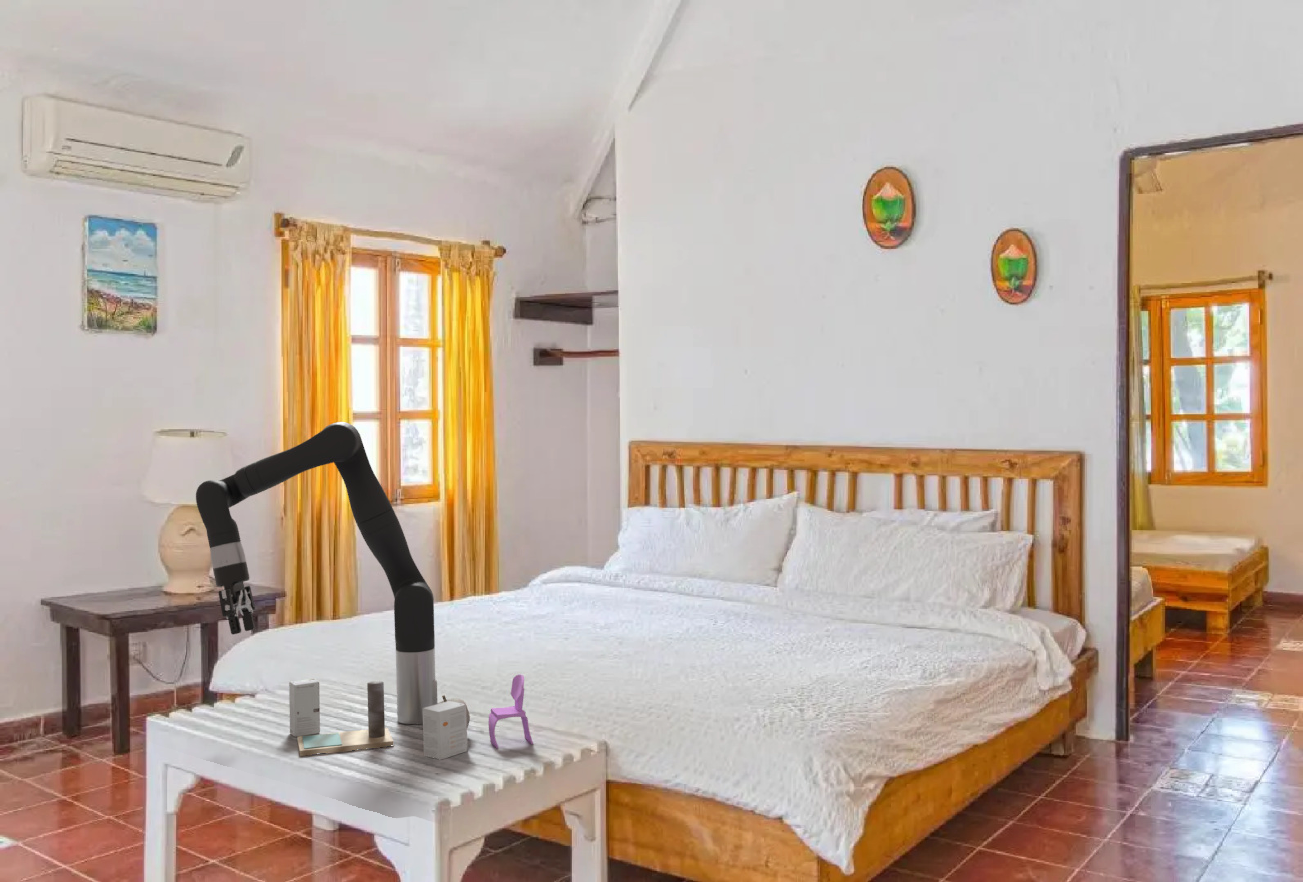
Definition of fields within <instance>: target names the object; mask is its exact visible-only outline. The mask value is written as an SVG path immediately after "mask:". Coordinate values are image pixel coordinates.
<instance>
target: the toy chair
mask: <svg viewBox="0 0 1303 882" xmlns="http://www.w3.org/2000/svg"><path fill="white" fill-rule="evenodd" d="M524 686H525V676H524V675H523V674H517V675H515V676H514V677H513V679H512V682H511V689H510V695H511V697H512V699H513V700H514V705H512V706H506V707H491V708H490V713H489V715H488V732H489V733H488V734H489V739H490V740H489V741H490V742H491V744H492V745H493V746H494V747H495V748H496V749H499V746H498V742H497V739H496V735H495V734H496V731H495V730H496V726H497V723H498V721H500V720H503V719H509V718H520V719H521V722H522V728H523V734H524V738H525V739H526V740H527V741H528V742H529V743H530V744H531V745H534V742H533V739H532V736H531V735H532V734H531V732H530V726H529V719H528V716H527V714H526V711H525V710H523V707H524V706H523V705H524V696H525V688H524Z"/></svg>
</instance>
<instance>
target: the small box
mask: <svg viewBox="0 0 1303 882" xmlns="http://www.w3.org/2000/svg"><path fill="white" fill-rule="evenodd" d="M439 703H440V702H439ZM466 705H467V704H462V703H457V702H453V701H447V702H444V703H440V704H436V705H433V706H429V707H425V708H423V723H422V730H423V731H422V737H423V739H422V740H423V756H424V755H425V757H427V756H428V758H431V757H434V758H433V759H435V758H437V759H436V760H440V761H441V760H444V759H447V758H451V757H453V756H457V755H460V754H462V753H465V752H468V728H467V717H466Z"/></svg>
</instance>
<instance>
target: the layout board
mask: <svg viewBox="0 0 1303 882" xmlns="http://www.w3.org/2000/svg"><path fill="white" fill-rule="evenodd" d="M384 686H385V684H384V681H382V680H381V681H380V680H374V681H369V682H367V683H366V689H367V723H368V724H367V725H368V727H367V729H360V730H350V731H341V732H340V731H339V732H331V733H321V734H320V733H318V734H311V735H304V736H297V746H298V753H299V757H306V755H307V756H313V755H312V754H317V753H326V754H333V753H343V752H351V751H352V750H355V751H358V750H357V749H364V750H367V749H366V748H374V749H381V748H380V747H383V748H387V747H386V746H391V745H393V746H394V740H393V737H392V735H391V732H390V730H389V728H388V727H385V726H386V725H385V724H386V723H385V720H386V719H385V690H384V689H385V687H384ZM352 752H353V751H352ZM317 755H318V754H317Z"/></svg>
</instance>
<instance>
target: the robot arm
mask: <svg viewBox="0 0 1303 882" xmlns="http://www.w3.org/2000/svg"><path fill="white" fill-rule="evenodd" d="M333 463H334V466H335V467H336V468H337V471H338V472H339V474H340V477H341V478H342V480H343V482H344V485H345V488H346V492H347V496H348V501H349V505H350V510H351V512H352V517H353V519H354V522H355V523H356V526H357V528H358V529H359V531H360V532H359V533H360V534H361V536H362V538H363V540H364V542H365V544H366V545H367V547H368V549H369V551H370V552H371V553H372V555H373V556H374V558H375V559H376V560H377V562H378V563H379V565H380V566H381V567H382V570H383V571H384V573H385V575H386V577H387V581H388V583H389V586H390V588H391V591H392V595H393V598H394V600H393V601H394V602H393V604H394V606H393V612H394V613H393V616H394V618H393V620H394V621H393V622H394V640H395V641H394V642H395V676H396V677H395V678H396V680H395V681H396V708H397V709H396V712H397V713H396V716H397V722H398V723H400V724H404V725H405V724H406V725H420V724H422V725H423V708H425V707H429V706H433V705H436V704H438V703H439V702H438V681H437V679H436V649H435V645H436V644H435V643H436V641H435V640H436V638H435V613H434V612H435V606H434V604H435V602H434V594H433V591H432V589H431V588H430V586H429V585H428V583H427V581H426V580H425V578H424V577H423V575H422V574H421V571H420V569H419V568H418V566H417V564H416V563H415V561H414V558H413V556H412V553H411V550H410V548H409V545H408V542H407V539H406V536H405V534H404V530H403V529H402V526H401V524H400V521H399V519H398V517H397V514H396V512H395V509H394V508H393V506H392V504H391V502H390V499H389V498H388V496H387V494H386V492H385V491H384V488H383V486H382V485H381V483H380V481H379V479H378V478H377V477H376V475H375V473H374V470H373V468H372V466H371V463H370V461H369V458H368V455H367V451H366V448H365V446H364V443H363V440H362V437H361V434H360V432H359V430H358V429H357V428H356V427H355V426H354V425H352V424H350V423H349V422H344V421H337V422H334V423H331V424H328V425H327V426H326V427H324V428H323V429H322V430H320V431H319V432H318V433H316V434H314V436H311V437H310V438H308V439H307V440H305V441H303V442H301V443H300V444H297V445H296V446H293V447H291V448H288V449H286V450H284V451H281V452H278V453H275V454H273V455H269V456H266V457H264V458H261V459H259V460H257V461H255V462H252V463H250V464H248V465H245V466H242V467H241V468H239V469H238V470H237V471H235V473H234V474H232V475H229V476H227V477H225V478H222V479H220V480H213V479H212V480H211V479H210V480H206V481H203V482H202V483H200V484H199V485H198V487H197V488H196V492H195V503H196V506H197V510H198V513H199V515H200V517H201V520H202V523H203V524H204V527H205V531H206V536H207V540H208V545H209V552H210V560H211V561H210V562H211V565H212V571H213V576H214V581H215V585H216V587H218V588H221V587H223V589H221V590H219V591H218V598H219V603H220V608H221V609H220V610H221V616H222V617H223V618H224V617H225V619H227V620H228V624H229V625H228V626H229V629H230V634H231V635H237V634H241V633H242V627H241V623H240V618H239V612H240V614H241V615H242V616H241V617H242V619H241V620H242V622H243V624H242V625H243V628H244V629H243V630H244V631H245V632H249V631H254V630H255V628H256V627H255V622H254V617H253V613H254V611H255V610H256V606H255V602H254V601H255V600H254V597H253V593H252V588H251V585H246V586H245V584H244V583H245V582H248V581H250V574H249V569H248V565H247V559H246V554H245V550H244V547H243V544H242V542H241V541H242V540H241V537H240V531H239V527H238V523H237V521H235V520H234V519H233V518H232V515H231V511H230V508H231V507H235V505H238V504H239V503H241V502H243V501H245V500H246V499H248V498H250V497H252V496H254V495H255V496H256V495H257V494H260V493H262V492H265V491H266V490H269V489H271V488H274V487H276V486H279V485H280V484H281V483H285V482H286V481H288V480H289V479H291V478H292V479H293V477H295V476H297V475H300V474H302V473H304V472H307V471H309V470H312V469H315V468H317V467H321V466H325V465H329V464H333Z"/></svg>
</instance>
